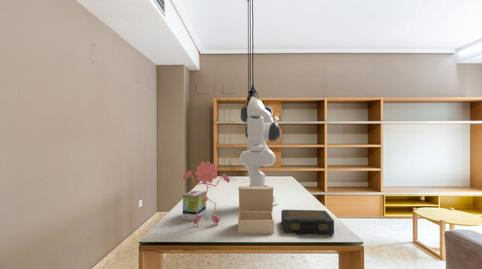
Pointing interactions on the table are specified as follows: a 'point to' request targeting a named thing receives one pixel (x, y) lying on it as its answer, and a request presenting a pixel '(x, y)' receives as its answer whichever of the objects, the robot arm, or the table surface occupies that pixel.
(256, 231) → the mailer box
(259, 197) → the lid
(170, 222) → the table surface
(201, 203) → the tea box
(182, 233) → the table surface
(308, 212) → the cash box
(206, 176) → the figurine
